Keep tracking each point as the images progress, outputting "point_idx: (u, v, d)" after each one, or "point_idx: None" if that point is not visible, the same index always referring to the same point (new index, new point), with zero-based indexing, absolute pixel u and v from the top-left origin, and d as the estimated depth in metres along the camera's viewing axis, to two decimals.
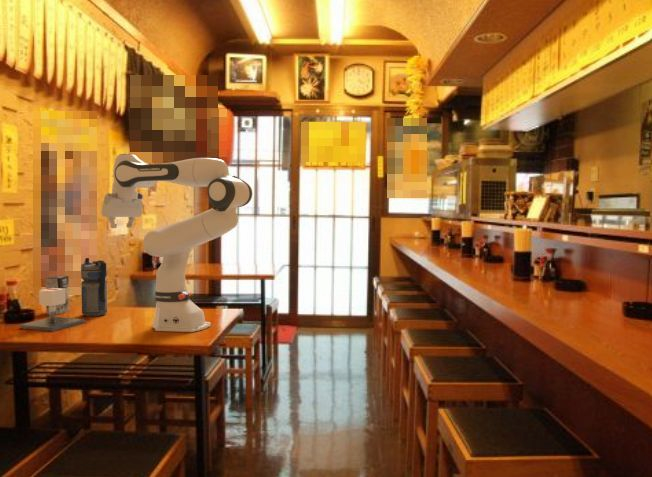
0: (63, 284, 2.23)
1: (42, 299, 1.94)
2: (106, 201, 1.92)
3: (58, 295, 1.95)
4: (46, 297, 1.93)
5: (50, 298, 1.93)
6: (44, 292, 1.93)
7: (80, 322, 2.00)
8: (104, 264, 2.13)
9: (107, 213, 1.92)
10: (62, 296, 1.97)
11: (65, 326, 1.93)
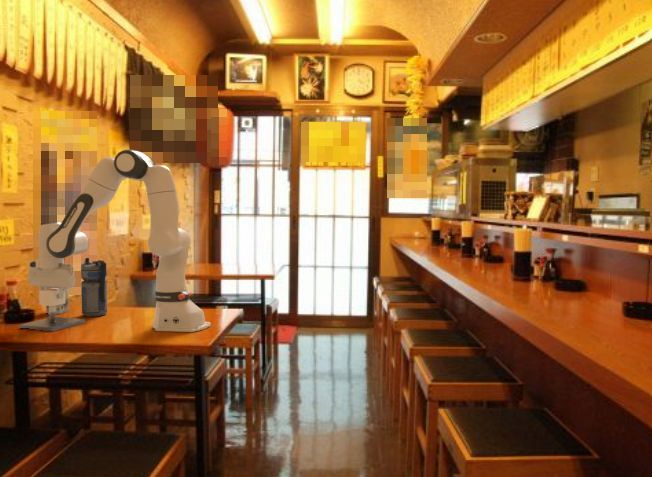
0: None
1: (42, 299, 1.94)
2: None
3: None
4: (46, 297, 1.93)
5: (50, 298, 1.93)
6: (44, 292, 1.93)
7: (80, 322, 2.00)
8: (104, 264, 2.13)
9: (74, 283, 1.94)
10: None
11: (65, 326, 1.93)
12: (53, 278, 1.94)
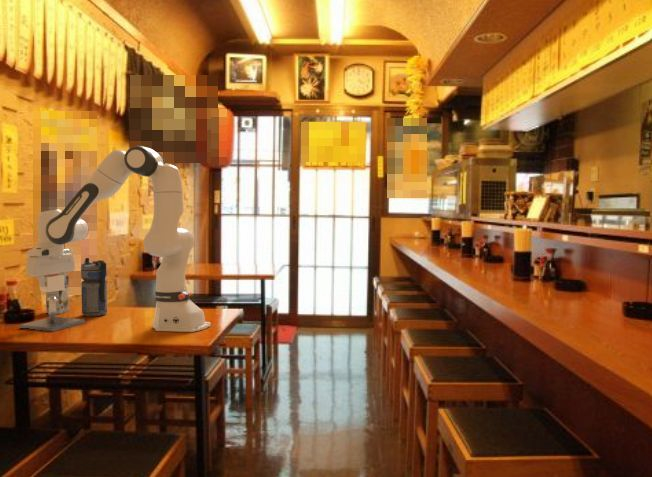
0: None
1: (52, 285, 1.93)
2: None
3: None
4: (57, 282, 1.95)
5: (62, 282, 1.97)
6: (54, 278, 1.94)
7: (80, 322, 2.00)
8: (104, 264, 2.13)
9: None
10: None
11: (65, 326, 1.93)
12: (60, 263, 1.98)
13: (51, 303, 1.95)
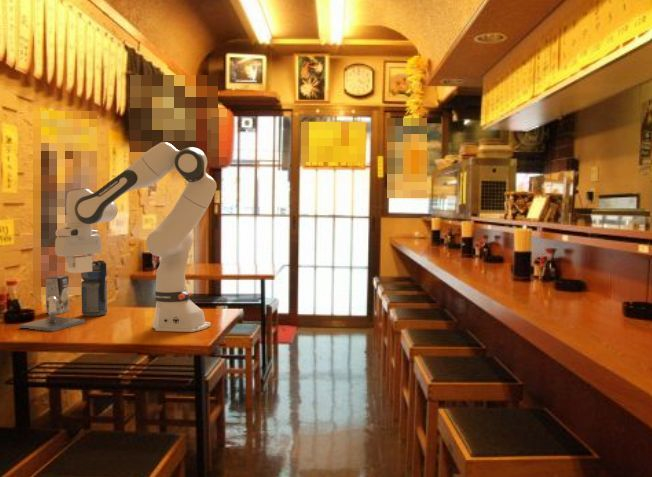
0: (63, 284, 2.23)
1: (80, 266, 1.89)
2: None
3: None
4: (85, 263, 1.91)
5: (90, 264, 1.92)
6: (82, 259, 1.90)
7: (80, 322, 2.00)
8: (104, 264, 2.13)
9: None
10: None
11: (65, 326, 1.93)
12: (88, 245, 1.93)
13: (51, 303, 1.95)
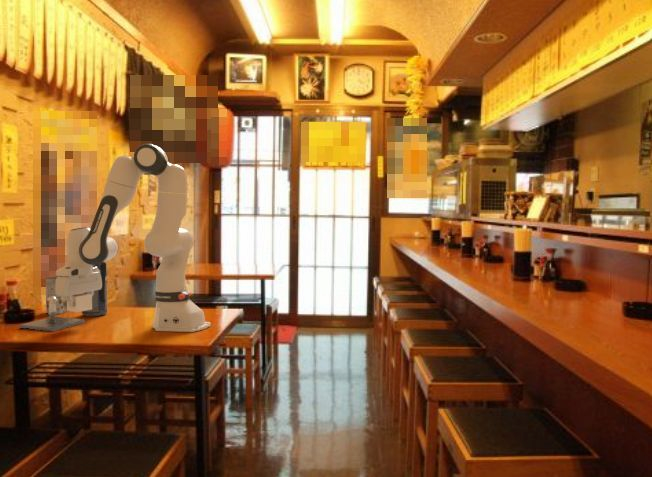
0: None
1: (80, 305, 1.90)
2: None
3: None
4: (85, 302, 1.91)
5: (90, 302, 1.93)
6: (82, 297, 1.90)
7: (80, 322, 2.00)
8: (104, 264, 2.13)
9: None
10: None
11: (65, 326, 1.93)
12: (88, 283, 1.94)
13: (51, 303, 1.95)
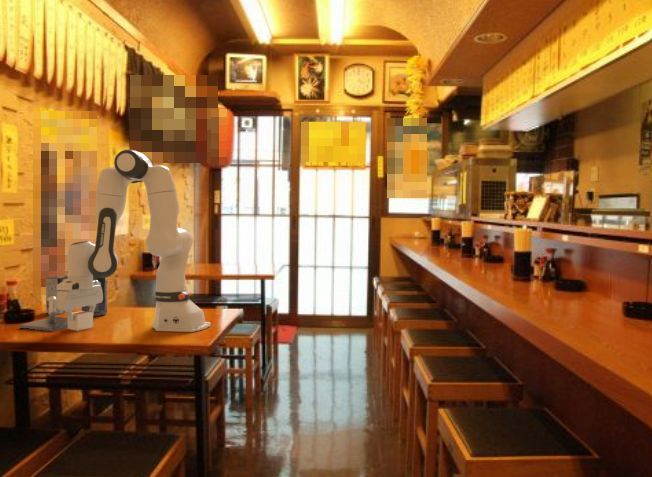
0: None
1: (81, 323, 1.90)
2: None
3: None
4: (86, 320, 1.92)
5: (91, 320, 1.93)
6: (84, 316, 1.91)
7: None
8: None
9: None
10: None
11: (65, 326, 1.93)
12: (89, 296, 1.94)
13: (51, 303, 1.95)
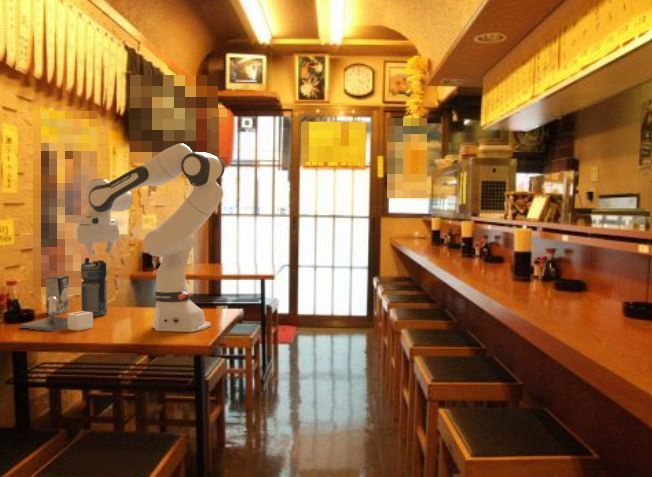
0: (63, 284, 2.23)
1: (81, 323, 1.90)
2: None
3: None
4: (86, 320, 1.92)
5: (91, 320, 1.93)
6: (84, 316, 1.91)
7: None
8: (104, 264, 2.13)
9: None
10: None
11: (65, 326, 1.93)
12: (107, 233, 2.03)
13: (51, 303, 1.95)
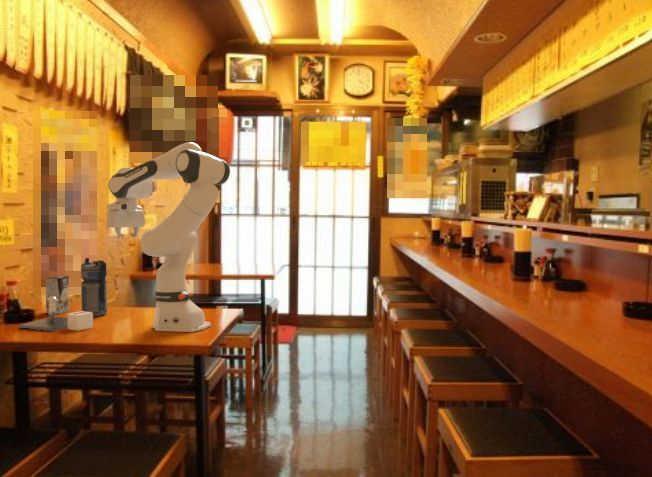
0: (63, 284, 2.23)
1: (81, 323, 1.90)
2: None
3: None
4: (86, 320, 1.92)
5: (91, 320, 1.93)
6: (84, 316, 1.91)
7: None
8: (104, 264, 2.13)
9: None
10: None
11: (65, 326, 1.93)
12: (134, 218, 2.17)
13: (51, 303, 1.95)
